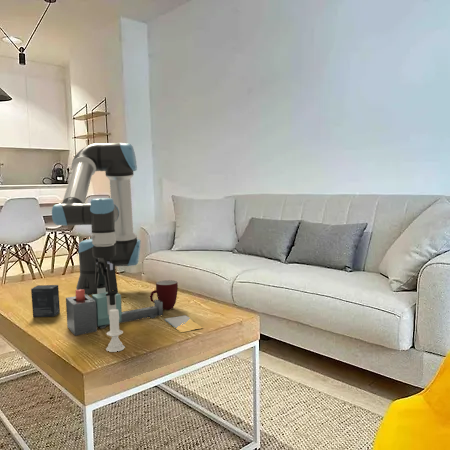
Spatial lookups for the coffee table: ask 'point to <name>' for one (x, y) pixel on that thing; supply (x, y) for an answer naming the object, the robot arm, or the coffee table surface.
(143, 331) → the coffee table surface
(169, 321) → the smartphone
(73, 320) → the gray button box
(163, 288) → the mug
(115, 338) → the candle
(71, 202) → the robot arm
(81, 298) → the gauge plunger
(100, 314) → the block
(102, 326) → the rail
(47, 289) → the box
